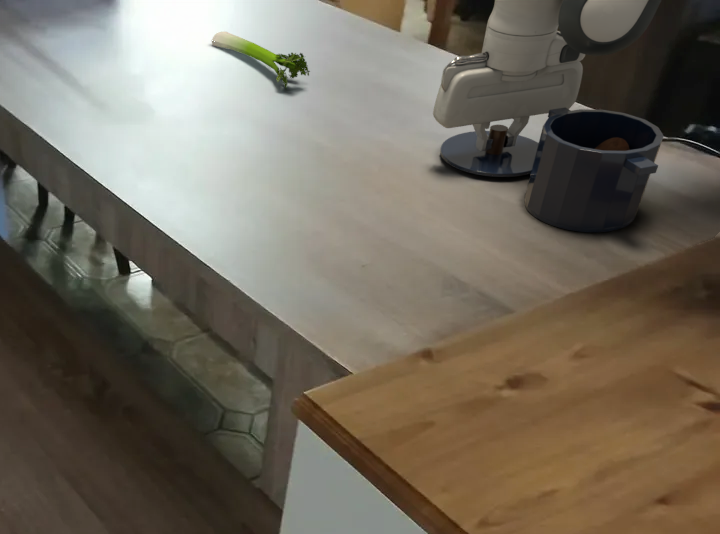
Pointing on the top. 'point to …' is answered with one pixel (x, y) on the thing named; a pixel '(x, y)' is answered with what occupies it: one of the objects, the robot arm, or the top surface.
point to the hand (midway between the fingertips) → (495, 147)
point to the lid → (490, 154)
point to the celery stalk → (263, 55)
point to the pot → (591, 169)
